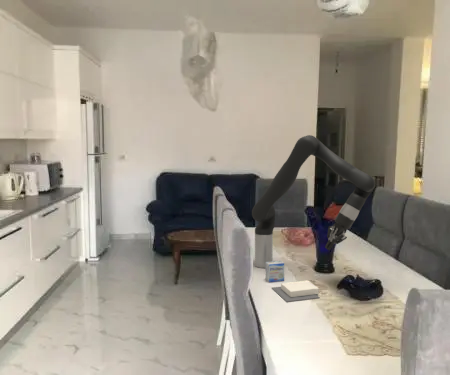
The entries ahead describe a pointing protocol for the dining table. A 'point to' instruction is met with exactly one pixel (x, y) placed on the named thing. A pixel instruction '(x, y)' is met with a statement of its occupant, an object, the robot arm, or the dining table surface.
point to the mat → (291, 299)
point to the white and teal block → (299, 288)
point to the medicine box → (274, 271)
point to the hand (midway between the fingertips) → (327, 249)
